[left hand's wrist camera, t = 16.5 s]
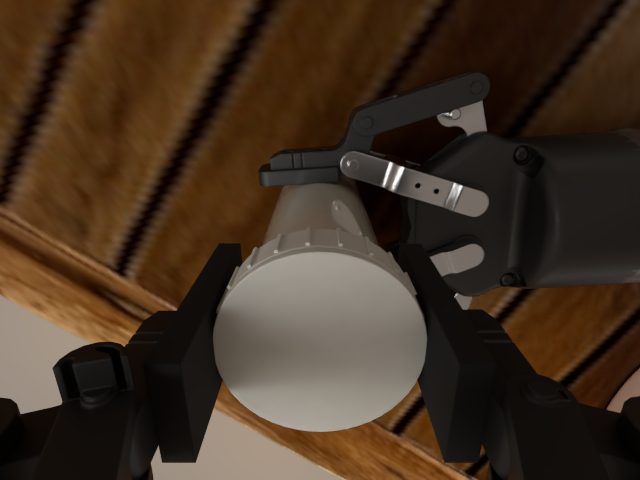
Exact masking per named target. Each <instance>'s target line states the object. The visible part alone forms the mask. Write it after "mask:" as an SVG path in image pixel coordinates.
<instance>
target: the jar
mask: <svg viewBox="0 0 640 480" xmlns="http://www.w3.org/2000/svg"><path fill="white" fill-rule="evenodd" d="M338 180H339V182H334V183H314V184H301V185H285V186H283V188H282V190H281V193H280V196H279V198H278V201H277V204H276V206H275V209H274V212H273V215H272V217H271V220H270V223H269V225H268V228H267V231H266V233H265V236H264V239H263V241H262V244H261V246H263V245H265V244H266V243H268V242H269V241H271V240H274V239H276V238H277V237H278V234H281V233H282V235H286V234H289V233H292V232H296V231H301V230H307V227H311V229H333V230H337V228H341V231H344V232H348V233H351V234H354V235H358V236H360V237H362V238H365V236H366V237H368V238H369V240H370V241H371V242H372V243H374V244H375V245H377V246H379V244H378V241H377V238H376V236H375V233H374V230H373V227H372V225H371V222H370V219H369V217H368V214H367V211H366V209H365V206H364V203H363V200H362V198H361V195H360V192H359V190H358V187H357V184H356V182H355V179H353V178H350V177H347V176H338ZM379 247H380V246H379Z"/></svg>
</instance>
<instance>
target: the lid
mask: <svg viewBox="0 0 640 480" xmlns="http://www.w3.org/2000/svg"><path fill="white" fill-rule="evenodd" d="M415 295H417V293H416V291H415V289H414V287H413V284H412V282H411V280H410V278H409V276H408V274H407V272H405V273H403V271H402V270H401V268H400V267H399V265H398V264H397V263H396V262H395V260H394V258H393V256H392V253H390V252H388V253H386V252H385V251H384V250H383V249H382V248H380V247H379V246H377V245H375V244H374V243H372V242H371V241H370V240H369V238H368V237H366V236H365V238H362V237H360V236H358V235H354V234H351V233H348V232H344V231H341V228H337V230H333V229H311V227H307V230H301V231H296V232H292V233H289V234H286V235H282V233H281V234H278V237H277V238H276V239H274V240H271V241H269V242H268V243H266V244H265V245H263V246H261V247H260V248H257V247H255V248H254V249H253V252H252V254H251V255H250V256H249V257H248V258H247V259H246V261H245V262H244V263H243V264H242V265H241V266H240V268H239V267H238V266H237V267H236V269H235V271H234V273H233V275H232V278H231V280H230V282H229V284H228V286H227V289H226V290H225V292H224V295H223V297H222V299H221V301H220V303H219V305H218V308H217V310H216V313H217V317H216V320H215V324H214V328H213V345H214V354H215V362H216V366H217V368H218V371H219V374H220V376H221V377H222V379H223V381H224V383H225V385H226V386H227V387H228V389H229V390H230V391H231V393H232V394H233V395H234V396H235V397H236V398H237V399H238V400H239V401H240V402H241V403H242V404H243V405H244V406H246V407H247V408H248V409H249V410H251V411H252V412H254V413H256V414H257V415H259V416H260V417H262V418H264V419H266V420H268V421H271V422H273V423H276V424H278V425H281V426H284V427H288V428H292V429H297V430H304V431H318V432H323V431H336V430H343V429H348V428H352V427H355V426H359V425H362V424H364V423H367V422H370V421H372V420H374V419H376V418H378V417H380V416H381V415H383V414H385V413H386V412H388V411H389V410H391V409H392V408H393V407H394V406H396V405H397V404H398V403H399V402H400V401H401V400H402V399H403V398H404V397H405V396H406V395H407V394H408V393H409V392H410V390H411V389H412V387H413V386H414V384H415V383H416V381H417V379H418V377H419V375H420V374H421V371H422V368H423V366H424V363H425V355H426V347H427V329H426V324H425V320H424V318H425V316H424V314H423V312H422V310H421V307H420V305H419V303H418V301H417V298H416V296H415Z"/></svg>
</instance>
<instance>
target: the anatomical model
mask: <svg viewBox="0 0 640 480" xmlns="http://www.w3.org/2000/svg"><path fill="white" fill-rule="evenodd" d="M637 396H640V368H639V369H638V370H637V371H636V372H635V373H634V374H633V375H632V376H631V377H630V378H629V379H628V380H627V381H626V382H625V384H624V385H623V386H622V387H621V388H620V390H619V391H618V392H617V394H616V395H615V396H614V398H613V399H612V401H611V402H610V404H609V406H608V407H607V409H606V410H610V411H614V412H619V413H620V412H621V410H622V407H623V404H624V402H625V401H626V400H628V399H629V398H630V397H637Z"/></svg>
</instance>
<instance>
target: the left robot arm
mask: <svg viewBox="0 0 640 480" xmlns="http://www.w3.org/2000/svg"><path fill="white" fill-rule="evenodd" d="M241 265H242V256H241V244H219V245H218V246H217V248H216V249H215V251H214V253H213V254H212V256H211V257H210V259H209V260H208V262H207V264H206V265H205V267H204V268H203V270H202V272H201V273H200V275H199V276H198V278H197V279H196V281H195V283H194V284H193V286H192V287H191V289H190V291H189V292H188V294H187V295H186V297H185V298H184V300H183V302H182V303H181V305H180V306H179V308H178V309H177V311H158V312H156V313H155V314H153V315H152V316H150V317H149V318H147V319H146V320H144V322H143V323H142V324H141V326H140V327H139V328H138V330H137V331H136V334H134V335H133V336H132V338H131V339H130V340H129V343H128V344H126V346H125V347H124V346H122V345H121V344H118V343H114V342H98V343H94V344H90V345H86V346H83V347H80V348H78V349H76V350H74V351H71V352H70V353H68V354H67V355H65V356H64V357H62V358H61V359H60V360H59V361H58V362H57V363H56V365H55V366H54V367H53V371H54V374H55V378H56V381H57V384H58V388H59V391H60V394H61V398H62V401H63V402H62V405H59V406H55V407H52V408H47V409H43V410H38V411H34V412H29V413H25V414H20V412H19V409H18V406H17V404H16V403H15V402H14V401H13V400H11V399H6V398H0V480H153V473H152V467H151V461H152V458H153V456H154V454H155V452H156V450H157V447H158V445H159V449H160V454H161V459H162V462H163V463H195V462H196V460H197V457H198V454H199V451H200V448H201V444H202V441H203V438H204V435H205V432H206V429H207V426H208V423H209V420H210V417H211V414H212V411H213V408H214V405H215V402H216V399H217V396H218V393H219V390H220V387H221V384H222V381H223V379H222V377H221V376H220V374H219V371H218V368H217V366H216V362H215V354H214V345H213V328H214V324H215V320H216V317H217V313H216V310H217V308H218V305H219V303H220V301H221V299H222V297H223V295H224V292H225V290H226V289H227V286H228V284H229V282H230V280H231V278H232V275H233V273H234V271H235V269H236V267H237V266H238V267H239V268H240V266H241ZM398 265H399V267H400V268H401V270H402V271H403V273H405V272H407V274H408V276H409V278H410V280H411V282H412V284H413V287H414V289H415V291H416V293H417V295H415V296H416V298H417V301H418V303H419V305H420V307H421V310H422V312H423V314H424V316H425V318H424V320H425V324H426V329H427V347H426V355H425V363H424V366H423V368H422V371H421V374H420V375H419V377H418V379H417V380H418V383H419V386H420V389H421V392H422V395H423V398H424V401H425V404H426V407H427V410H428V413H429V416H430V419H431V422H432V426H433V429H434V432H435V435H436V438H437V441H438V444H439V447H440V450H441V453H442V456H443V459H444V462H445V463H478V460H479V455H480V450H481V445H483V447H484V449H485V451H486V454H487V456H488V458H489V460H490V463H489V467H488V472H487V477H486V480H640V396H637V397H630V398H629V399H628V400H626V401H625V402H624V404H623V407H622V410H621V412H620V413H619V412H614V411H610V410H605V409H601V408H596V407H592V406H587V405H584V404H580V403H578V401H577V400H576V398H575V397H574V396H573V394H572V393H571V392H570V391H569V390H568V389H567V388H565V387H564V386H563V385H562V384H560V383H558V382H556V381H554V380H552V379H550V378H548V377H545V376H542V375H538V374H537V373H536V372H535V370H534V369H533V368H532V366H531V365H530V364H529V362H528V361H527V360H526V358H525V357H524V356H523V354H522V353H521V352H520V350H519V349H518V348H517V346H516V345H515V344H514V343H512V340H511V338H510V337H509V336H508V334H507V333H505V330H504V329H503V328H502V326H501V325H500V324H499V322H498V321H497V320H496V319H495V318H494V317H492V316H491V315H489V314H488V313H486V312H485V311H483V310H463V309H462V307H461V306H460V304H459V303H458V301H457V300H456V298H455V296H454V295H453V293H452V292H451V290H450V289H449V287H448V285H447V284H446V282H445V281H444V279H443V277H442V276H441V274H440V273H439V271H438V270H437V268H436V266H435V265H434V263H433V262H432V260H431V259H430V257H429V255H428V254H427V252H426V251H425V249H424V247H423V246H422V244H400V247H399V259H398Z"/></svg>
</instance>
